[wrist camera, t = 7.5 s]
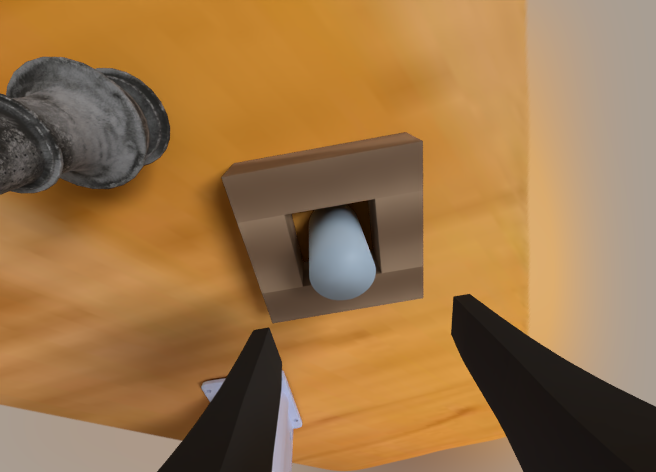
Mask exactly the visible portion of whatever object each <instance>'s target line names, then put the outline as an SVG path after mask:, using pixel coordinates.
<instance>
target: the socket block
mask: <svg viewBox="0 0 656 472" xmlns="http://www.w3.org/2000/svg"><path fill="white" fill-rule="evenodd" d="M221 178H222V181H223V184H224V187H225V189H226V192H227V195H228V198H229V201H230V204H231V207H232V209H233V212H234V215H235V218H236V221H237V224H238V226H239V229H240V232H241V235H242V238H243V241H244V243H245V246H246V249H247V252H248V255H249V258H250V261H251V263H252V266H253V269H254V272H255V275H256V278H257V280H258V283H259V286H260V289H261V292H262V295H263V297H264V300H265V303H266V306H267V309H268V312H269V315H270V317H271V320H272V323H278V322H284V321H290V320H296V319H302V318H308V317H313V316H319V315H325V314H331V313H337V312H343V311H349V310H355V309H361V308H367V307H373V306H379V305H385V304H391V303H397V302H403V301H409V300H415V299H421V298H423V141H422V140H420V139H418V138H416V137H414V136H412V135H410V134H408V133H406V132H405V133H399V134H394V135H388V136H383V137H377V138H371V139H366V140H360V141H355V142H349V143H344V144H338V145H333V146H327V147H322V148H316V149H311V150H305V151H300V152H294V153H289V154H283V155H277V156H272V157H266V158H261V159H255V160H250V161H244V162H239V163H234V164H233V165H232V166H231V167H230V168H229V169H228V170H227V171H226V173H225V174H224V175H223V176H222V177H221ZM366 200H368V208H369V217H370V227H371V237H372V247H373V250H371V251H370V253H371V255H372V258H373V261H374V264H375V267H376V275H375V279H374V281H373V283H372V285H371V286H370V287H369V289H368V290H367V291H365V292H364V293H363V294H361V295H360V296H358V297H355V298H353V299H349V300H332V299H328V298H326V297H324V296H322V295H320V294H319V293H318V292H317V291H315V289H314V288H313V286H312V285H311V282H310V278H309V261H307V262H303V259H302V255H301V251H300V247H299V243H298V238H297V234H296V230H295V226H294V222H293V218H292V213H298V212H303V211H309V210H315V209H320V208H326V207H332V206H337V205H343V204H349V203H354V202H360V201H366Z"/></svg>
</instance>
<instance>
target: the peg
mask: <svg viewBox="0 0 656 472" xmlns="http://www.w3.org/2000/svg"><path fill="white" fill-rule="evenodd" d="M375 275H376V267H375V264H374V261H373V258H372V255H371V253H370V250H369V247H368V245H367V242H366V239H365V237H364V234H363V231H362V228H361V226H360V223H359V220H358V218H357V215H356V213H355V212H354V210H353V209H352V208H351V207H349V206H348V205H346V204H343V205H337V206H332V207H326V208H320V209H316V210H315V211H314V212H313V213H312V215H311V217H310V220H309V278H310V282H311V285H312V286H313V288H314V289H315V291H317V292H318V293H319V294H320V295H322V296H324V297H326V298H328V299H332V300H349V299H353V298H355V297H358V296H360V295H361V294H363V293H364V292H365V291H367V290H368V289H369V287H370V286H371V285H372V283H373V281H374V279H375Z"/></svg>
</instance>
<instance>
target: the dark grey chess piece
mask: <svg viewBox="0 0 656 472" xmlns="http://www.w3.org/2000/svg"><path fill="white" fill-rule="evenodd" d="M169 140H170V125H169V120H168V116H167V113H166V111H165V109H164V107H163V105H162V103H161V101H160V100H159V99H158V97H157V96H156V95H155V94H154V92H153V91H152V90H151V89H150V88H149V87H148V86H147V85H145V84H144V83H143V82H142V81H141V80H139V79H138V78H136V77H134V76H132V75H130V74H129V73H127V72H123V71H120V70H116V69H113V68H97V69H93V68H92V67H90V66H88V65H86V64H84V63H81V62H78V61H74V60H71V59H67V58H64V57H41V58H37V59H34V60H31V61H28V62H26V63H24V64H23V65H22V66H21V67H20V68H18V69H17V70H16V71H15V72H14V73H13V75H12V77H11V79H10V81H9V83H8V85H7V93H6V95H4V94H0V194H3V193H6V192H8V191H12V192H17V193H36V192H40V191H43V190H46V189H48V188H50V187H51V186H53V185H54V184H55V183H56V182H57V181H58V179H59V178H61V179H64V180H66V181H68V182H71V183H73V184H75V185H78V186H83V187H87V188H92V189H111V188H114V187H118V186H121V185H124V184H126V183H127V182H129V181H130V180H132V179H133V178H135V177H136V175H137V174H138V173H139V171H140V170H141V169H142V167H143V165H146V164H150V163H152V162H154V161H155V160H157V159H158V158H160V157H161V155H162V154H163V153H164V152H165V150H166V149H167V146H168V143H169Z"/></svg>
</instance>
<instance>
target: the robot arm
mask: <svg viewBox="0 0 656 472" xmlns="http://www.w3.org/2000/svg"><path fill="white" fill-rule="evenodd" d="M451 335H452V337H453V339H454V342H455V344H456V346H457V349H458V351H459V353H460V355H461V358H462V360H463V361H464V363H465V365H466V367H467V368H468V370H469V372H470V374H471V375H472V377H473V379H474V380H475V382H476V384H477V386H478V387H479V389H480V391H481V392H482V394H483V396H484V397H485V399H486V401H487V402H488V404H489V406H490V408H491V409H492V411H493V413H494V414H495V416H496V418H497V419H498V421H499V423H500V425H501V427H502V429H503V430H504V432H505V434H506V436H507V438H508V440H509V443H510V444H511V446H512V449H513V451H514V453H515V455H516V457H517V459H518V461H519V463H520V465H521V468H522V470H523V472H656V407H655V406H653V405H651V404H649V403H647V402H645V401H643V400H641V399H639V398H636V397H635V396H633V395H630V394H628V393H627V392H625V391H622V390H620V389H618V388H616V387H614V386H612V385H611V384H609V383H607V382H605V381H603V380H601V379H599V378H597V377H595V376H594V375H592V374H590V373H588V372H586V371H584V370H583V369H581V368H579V367H578V366H575V365H574V364H572V363H570V362H569V361H567V360H565V359H564V358H562V357H560V356H559V355H557V354H555V353H554V352H552V351H551V350H549V349H547V348H546V347H544V346H543V345H541V344H540V343H538V342H536V341H535V340H533V339H532V338H530V337H529V336H527V335H526V334H524V333H523V332H522V331H520V330H519V329H517V328H516V327H514V326H513V325H511V324H510V323H509V322H507V321H506V320H504V319H503V318H502V317H500V316H499V315H498V314H496V313H495V312H493V311H492V310H491V309H489V308H488V307H487V306H485V305H484V304H483V303H481V302H480V301H478V300H477V299H476V298H474V297H473V296H472V295H470V294H466V295H460V296H454V297H453V313H452V330H451ZM201 388H202V390H203V391H204V393H205V395H206V396H207V398H208V400H209V401H210V404H209V405H208V407H207V408H206V410H205V411H204V413H203V414H202V415H201V417H200V418H199V420H198V421H197V422H196V424H195V425H194V426H193V428H192V429H191V430H190V432H189V433H188V434H187V436H186V437H185V438H184V440H183V441H182V442H181V443H180V445H179V446H178V447H177V448H176V450H175V451H174V452H173V453H172V455H171V456H170V457H169V458H168V459H167V461H166V462H165V463H164V464H163V465H162V467H161V468H160V469H159V470H158V471H157V472H292V447H293V429H294V428H299V427H301V426H302V420H301V417H300V414H299V412H298V409H297V406H296V403H295V401H294V398H293V395H292V393H291V390H290V387H289V384H288V382H287V379H286V376H285V373H284V371H282V361H281V358H280V355H279V353H278V350H277V347H276V345H275V342H274V339H273V336H272V334H271V331H270V328H264V329H258V330H254V331H253V332H252V334H251V335H250V337H249V339H248V341H247V343H246V345H245V346H244V348H243V350H242V352H241V354H240V355H239V357H238V359H237V361H236V362H235V364H234V366H233V367H232V369H231V371H230V372H229V374H228V376H227V377H226V378H223V379H217V380H211V381H206V382H203V384H202V387H201Z"/></svg>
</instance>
